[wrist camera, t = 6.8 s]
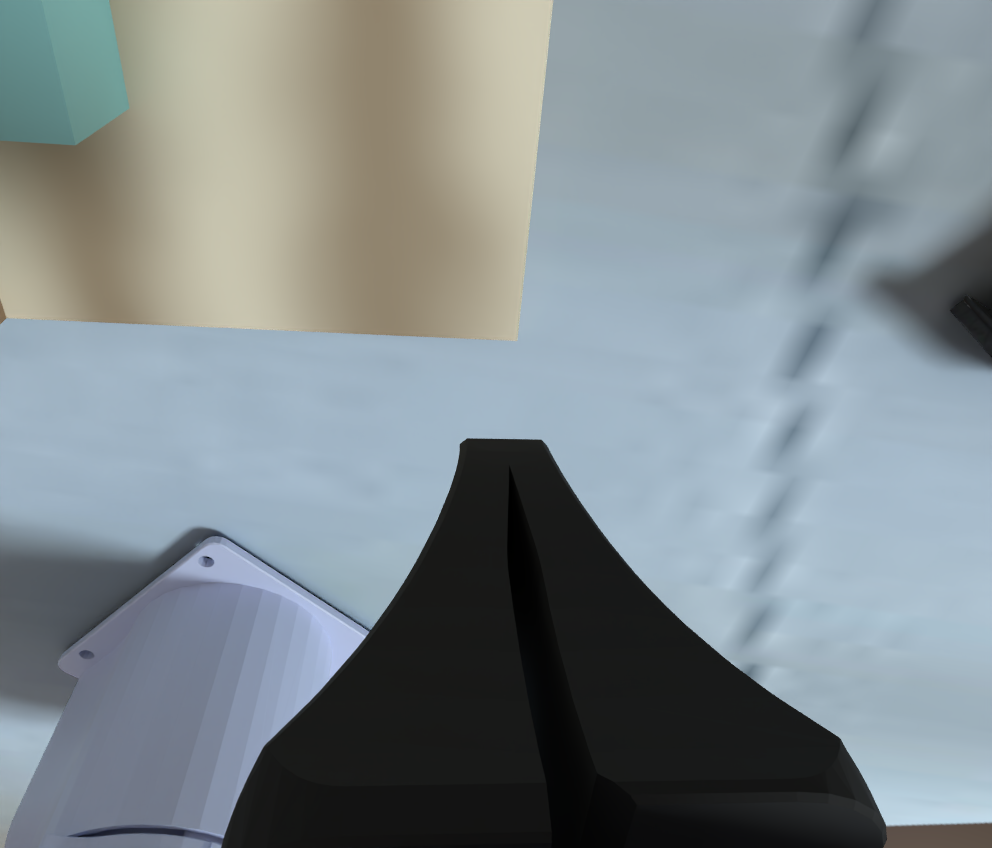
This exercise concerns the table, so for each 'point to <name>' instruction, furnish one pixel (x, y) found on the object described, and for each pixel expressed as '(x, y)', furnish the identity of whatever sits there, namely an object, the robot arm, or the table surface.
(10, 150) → the board
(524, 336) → the table surface
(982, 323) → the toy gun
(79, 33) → the t block
